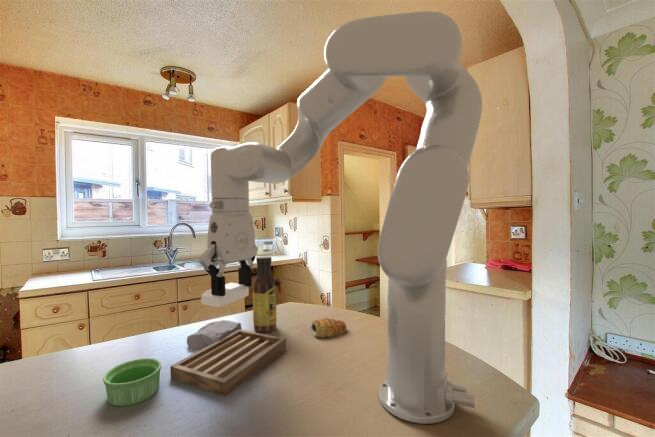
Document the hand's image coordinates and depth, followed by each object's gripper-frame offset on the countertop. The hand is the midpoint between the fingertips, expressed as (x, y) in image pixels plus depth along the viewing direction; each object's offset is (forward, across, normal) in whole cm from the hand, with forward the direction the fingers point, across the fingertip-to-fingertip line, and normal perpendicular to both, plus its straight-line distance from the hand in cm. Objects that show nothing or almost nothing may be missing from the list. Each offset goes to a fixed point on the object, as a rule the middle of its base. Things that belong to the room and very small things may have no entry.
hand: (232, 289), depth 67 cm
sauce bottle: (+16, +18, +5) cm, 25 cm away
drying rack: (+16, 0, 0) cm, 16 cm away
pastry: (+16, +23, -11) cm, 30 cm away
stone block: (+17, +7, +13) cm, 22 cm away
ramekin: (+16, -16, +9) cm, 25 cm away
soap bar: (+3, 0, +2) cm, 3 cm away
